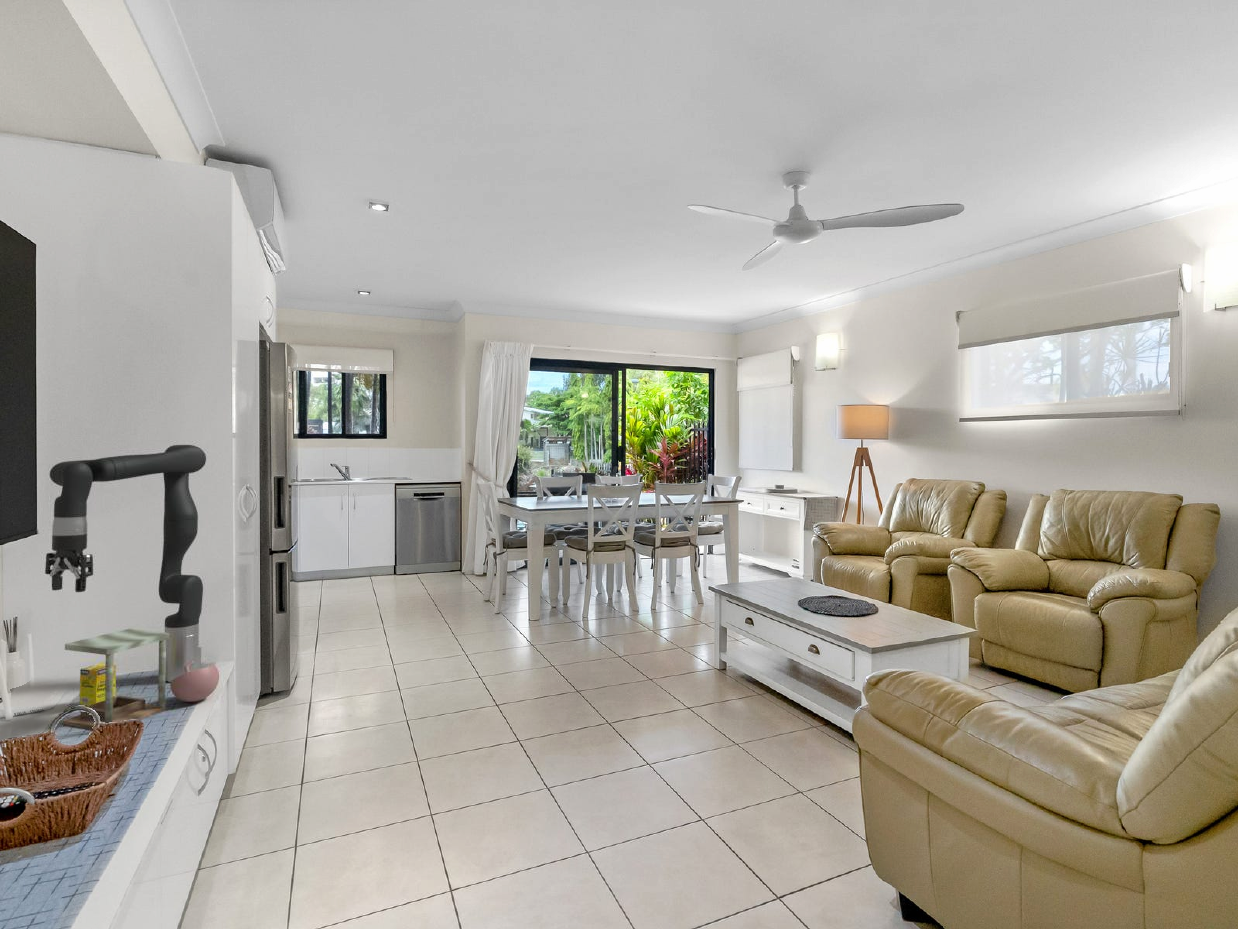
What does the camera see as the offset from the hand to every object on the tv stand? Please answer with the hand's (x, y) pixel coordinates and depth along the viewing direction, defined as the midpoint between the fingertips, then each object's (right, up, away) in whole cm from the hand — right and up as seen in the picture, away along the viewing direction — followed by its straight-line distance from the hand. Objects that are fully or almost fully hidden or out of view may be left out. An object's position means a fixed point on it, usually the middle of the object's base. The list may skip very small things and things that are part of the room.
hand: (68, 590), depth 182 cm
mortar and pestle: (+30, -34, +9) cm, 46 cm away
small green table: (+16, -34, -4) cm, 37 cm away
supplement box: (+5, -34, +4) cm, 34 cm away
